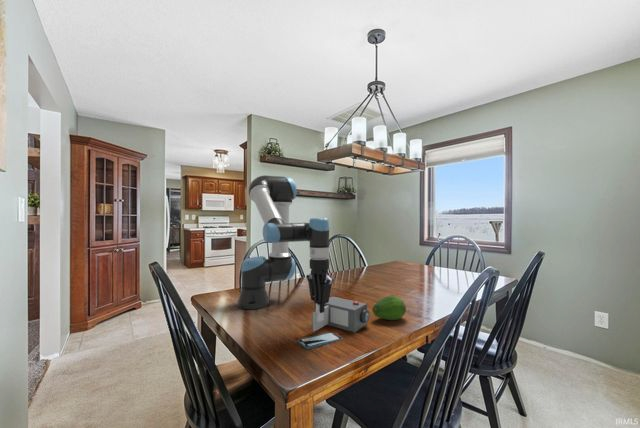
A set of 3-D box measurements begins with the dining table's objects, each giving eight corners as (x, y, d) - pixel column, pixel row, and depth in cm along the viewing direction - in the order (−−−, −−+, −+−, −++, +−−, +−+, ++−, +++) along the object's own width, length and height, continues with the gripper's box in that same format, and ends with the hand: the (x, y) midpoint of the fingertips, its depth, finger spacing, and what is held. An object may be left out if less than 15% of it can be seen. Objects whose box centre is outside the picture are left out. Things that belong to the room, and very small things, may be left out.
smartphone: (343, 338, 101) (307, 347, 93) (343, 341, 101) (307, 350, 93) (332, 331, 107) (297, 339, 99) (332, 334, 107) (296, 342, 99)
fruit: (378, 326, 113) (378, 301, 114) (367, 317, 123) (367, 294, 123) (411, 322, 118) (411, 298, 118) (398, 314, 127) (398, 292, 127)
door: (325, 322, 115) (325, 304, 115) (329, 323, 114) (329, 305, 114) (310, 330, 107) (310, 311, 107) (314, 331, 106) (314, 312, 106)
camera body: (319, 322, 117) (319, 300, 117) (332, 315, 125) (332, 294, 125) (359, 333, 106) (359, 309, 106) (371, 325, 114) (371, 302, 114)
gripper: (301, 257, 109) (301, 318, 109) (324, 261, 100) (324, 327, 99) (315, 255, 114) (315, 314, 114) (338, 259, 105) (339, 322, 105)
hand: (319, 320), depth 107 cm, fingers closed
